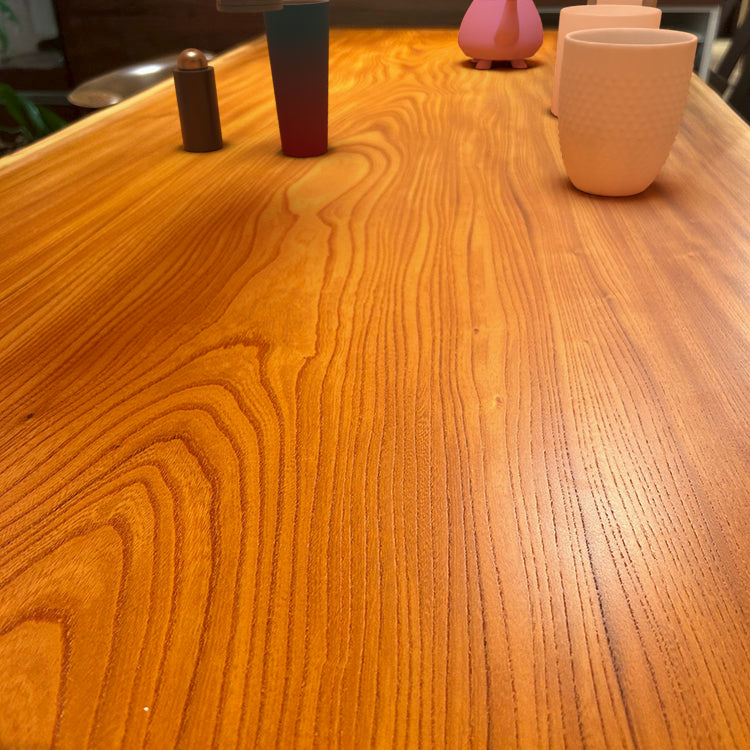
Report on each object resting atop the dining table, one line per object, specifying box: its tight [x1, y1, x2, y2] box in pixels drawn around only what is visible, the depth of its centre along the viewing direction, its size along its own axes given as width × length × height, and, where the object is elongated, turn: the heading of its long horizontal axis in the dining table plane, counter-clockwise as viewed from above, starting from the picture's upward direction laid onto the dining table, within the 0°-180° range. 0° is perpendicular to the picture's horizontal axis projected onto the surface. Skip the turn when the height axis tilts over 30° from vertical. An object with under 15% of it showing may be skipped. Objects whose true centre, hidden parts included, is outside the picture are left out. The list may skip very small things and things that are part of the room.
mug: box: [557, 28, 699, 197], centre depth 71 cm, size 15×11×13 cm
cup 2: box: [550, 4, 663, 118], centre depth 96 cm, size 12×12×12 cm
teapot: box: [457, 0, 544, 70], centre depth 128 cm, size 20×14×12 cm
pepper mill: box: [172, 47, 224, 153], centre depth 85 cm, size 4×4×10 cm
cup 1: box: [262, 0, 330, 158], centre depth 82 cm, size 7×7×15 cm
